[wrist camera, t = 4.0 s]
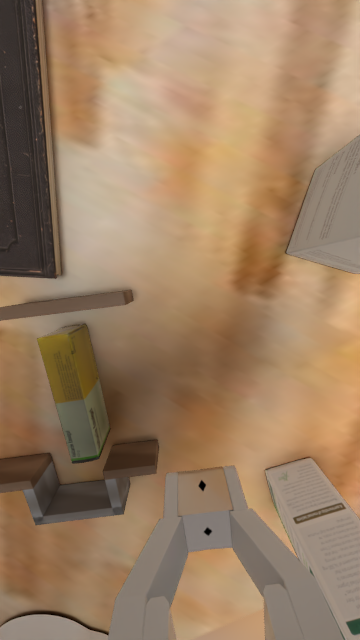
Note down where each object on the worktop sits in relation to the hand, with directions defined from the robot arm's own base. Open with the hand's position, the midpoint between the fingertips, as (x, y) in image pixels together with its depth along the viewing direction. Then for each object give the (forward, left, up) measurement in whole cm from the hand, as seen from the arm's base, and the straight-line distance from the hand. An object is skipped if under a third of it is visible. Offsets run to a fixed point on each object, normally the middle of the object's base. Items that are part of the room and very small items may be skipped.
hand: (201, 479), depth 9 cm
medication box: (0, +10, -12) cm, 16 cm away
